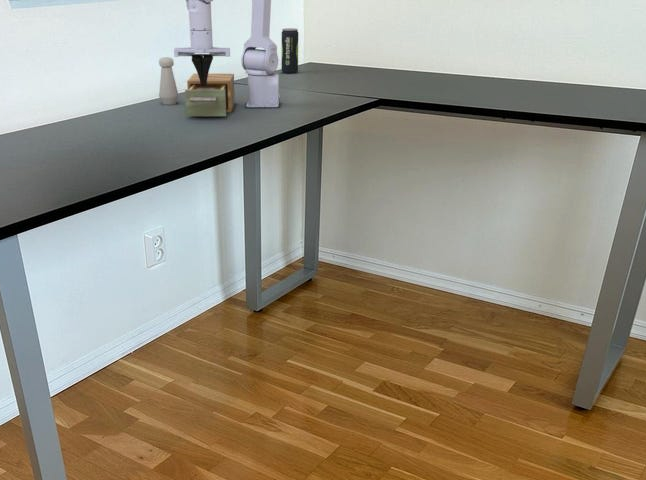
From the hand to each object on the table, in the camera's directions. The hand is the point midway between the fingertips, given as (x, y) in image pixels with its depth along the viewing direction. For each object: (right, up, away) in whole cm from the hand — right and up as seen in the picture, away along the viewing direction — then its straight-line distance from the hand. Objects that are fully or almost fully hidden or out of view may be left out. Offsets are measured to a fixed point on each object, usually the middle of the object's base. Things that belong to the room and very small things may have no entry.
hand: (203, 85), depth 188 cm
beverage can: (+25, +35, +78) cm, 89 cm away
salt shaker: (-13, +5, +26) cm, 30 cm away
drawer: (0, -4, +9) cm, 10 cm away
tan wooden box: (+1, +1, +20) cm, 20 cm away
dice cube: (0, -3, +9) cm, 10 cm away
